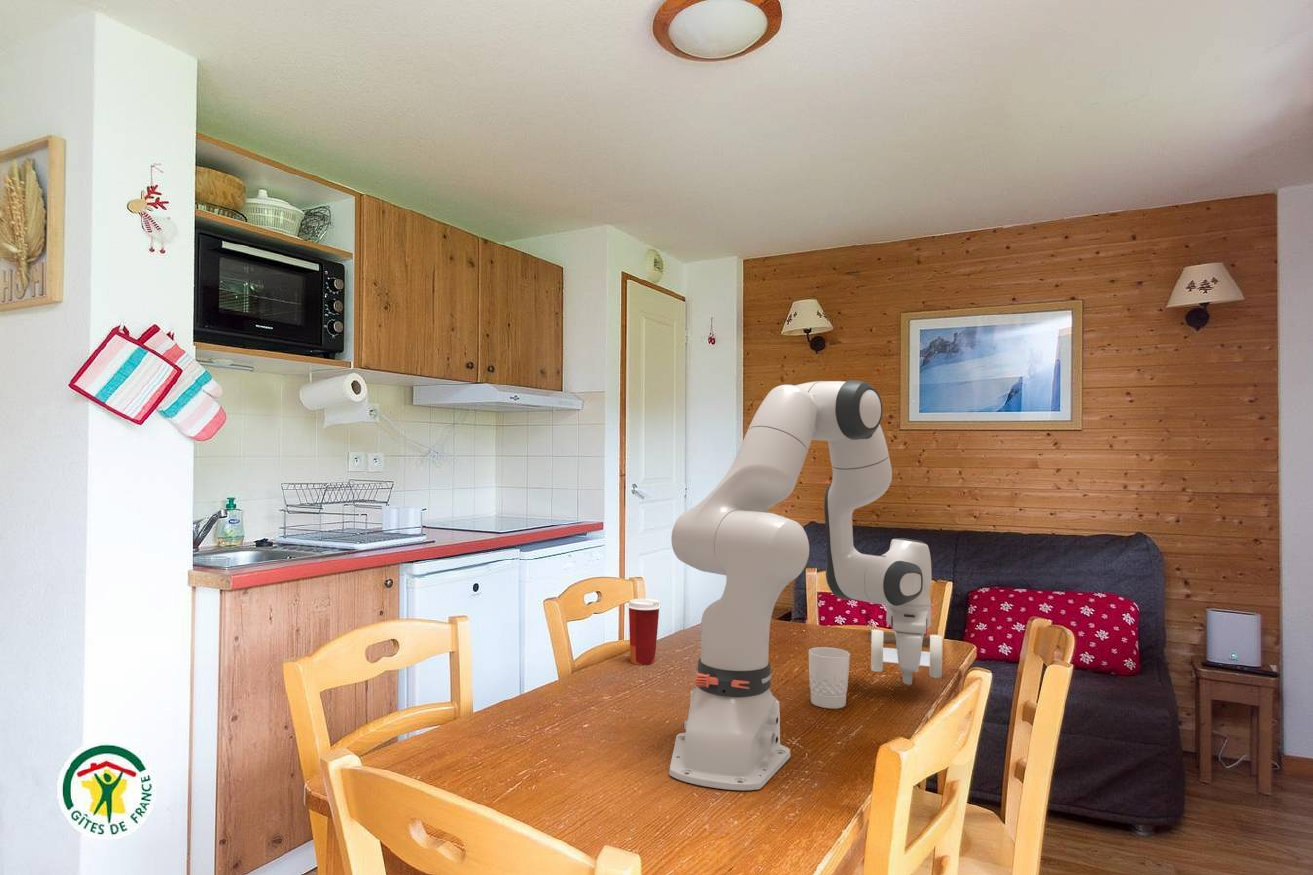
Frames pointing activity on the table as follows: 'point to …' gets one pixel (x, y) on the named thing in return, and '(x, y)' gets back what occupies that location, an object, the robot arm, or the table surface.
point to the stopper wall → (891, 638)
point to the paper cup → (643, 630)
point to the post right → (935, 656)
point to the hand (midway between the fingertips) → (907, 682)
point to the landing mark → (892, 657)
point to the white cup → (828, 676)
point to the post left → (877, 650)
